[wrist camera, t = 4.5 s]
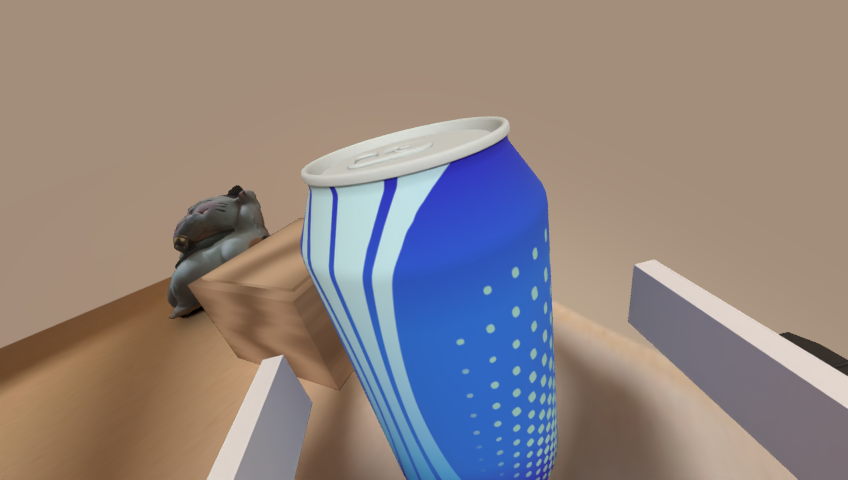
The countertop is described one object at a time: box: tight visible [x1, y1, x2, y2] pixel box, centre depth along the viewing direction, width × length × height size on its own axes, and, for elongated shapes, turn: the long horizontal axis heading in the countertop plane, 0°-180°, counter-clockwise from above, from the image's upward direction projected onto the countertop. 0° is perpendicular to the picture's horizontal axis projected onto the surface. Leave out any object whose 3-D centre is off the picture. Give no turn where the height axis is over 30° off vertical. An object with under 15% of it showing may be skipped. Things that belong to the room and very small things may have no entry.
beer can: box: [300, 117, 558, 480], centre depth 13 cm, size 8×8×16 cm
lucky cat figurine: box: [168, 185, 270, 319], centre depth 38 cm, size 15×12×14 cm
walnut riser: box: [187, 218, 354, 390], centre depth 27 cm, size 12×12×8 cm
